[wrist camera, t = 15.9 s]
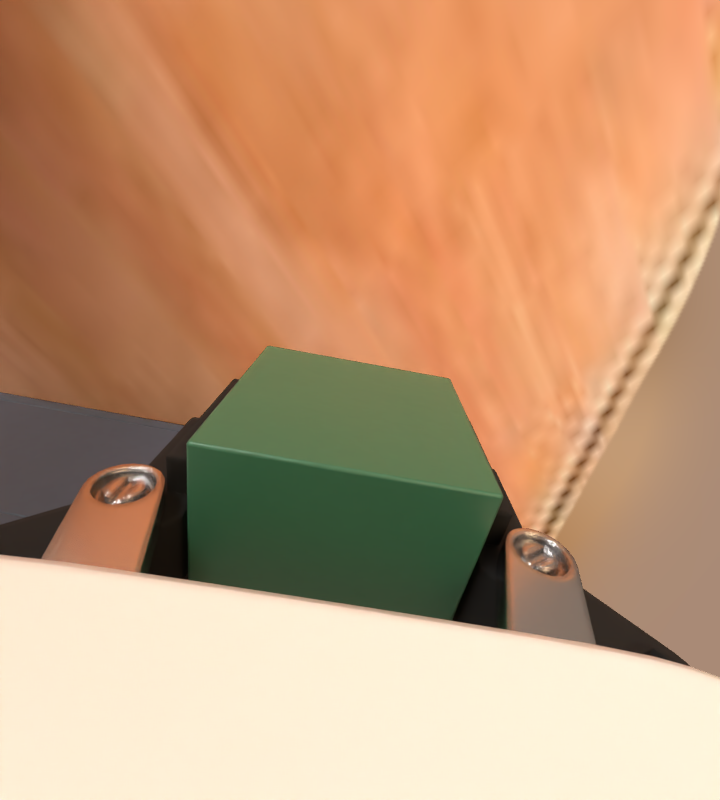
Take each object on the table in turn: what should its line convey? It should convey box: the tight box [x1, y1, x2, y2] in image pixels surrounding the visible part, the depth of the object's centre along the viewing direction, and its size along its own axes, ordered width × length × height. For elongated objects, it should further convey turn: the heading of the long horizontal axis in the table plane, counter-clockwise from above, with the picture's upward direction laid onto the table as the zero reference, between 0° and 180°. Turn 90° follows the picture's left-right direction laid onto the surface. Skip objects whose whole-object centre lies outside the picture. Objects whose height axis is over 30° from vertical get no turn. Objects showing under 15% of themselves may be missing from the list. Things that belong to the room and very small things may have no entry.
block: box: [187, 346, 503, 621], centre depth 9 cm, size 5×5×5 cm
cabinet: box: [0, 392, 184, 525], centre depth 22 cm, size 15×13×10 cm
